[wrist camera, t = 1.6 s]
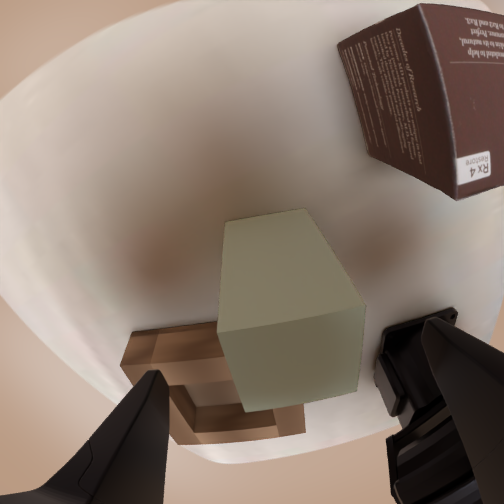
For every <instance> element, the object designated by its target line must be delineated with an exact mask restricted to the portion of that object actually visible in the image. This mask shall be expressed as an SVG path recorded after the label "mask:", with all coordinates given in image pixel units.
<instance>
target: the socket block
mask: <svg viewBox="0 0 504 504" xmlns="http://www.w3.org/2000/svg"><path fill="white" fill-rule="evenodd" d="M217 322H218V321H217ZM217 322H210V323H203V324H196V325H188V326H180V327H172V328H164V329H155V330H146V331H136V332H132V334H131V336H130V339H129V341H128V344H127V347H126V350H125V352H124V355H123V358H122V361H121V363H120V367H121V368H122V370H123V371H124V373H125V374H126V376H127V377H128V379H129V380H130V382H131V383H132V385H133V386H134V385H135V384H136V383H137V382H138V381H139V379H140V378H141V377H142V376H143V375H144V374H145V372H146V371H148V370H154V369H159V370H160V371H161V372H162V374H163V376H164V378H165V379H166V381H167V383H168V385H169V389H170V430H169V434H170V436H171V437H172V438H173V439H174V440H175V442H176V443H177V444H178V445H198V444H219V443H233V442H244V441H253V440H262V439H269V438H276V437H283V436H289V435H295V434H301V433H306V429H305V417H304V405H303V404H298V405H292V406H287V407H281V408H274V409H268V410H261V411H253V412H245V410H244V408H243V405H242V402H241V400H240V397H239V394H238V392H237V389H236V386H235V384H234V381H233V378H232V375H231V372H230V370H229V367H228V364H227V361H226V358H225V355H224V353H223V350H222V347H221V344H220V341H219V338H218V335H217Z"/></svg>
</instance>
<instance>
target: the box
mask: <svg viewBox="0 0 504 504" xmlns="http://www.w3.org/2000/svg"><path fill="white" fill-rule="evenodd" d="M338 49H339V52H340V55H341V58H342V60H343V64H344V67H345V70H346V72H347V75H348V78H349V80H350V85H351V87H352V90H353V95H354V98H355V101H356V105H357V109H358V112H359V117H360V120H361V124H362V129H363V132H364V138H365V143H366V147H367V150H368V152H369V156H371V157H373V158H376V159H378V160H380V161H383V162H384V163H387V164H389V165H391V166H393V167H395V168H397V169H399V170H401V171H403V172H405V173H407V174H409V175H411V176H414V177H415V178H417V179H419V180H421V181H423V182H425V183H427V184H428V185H430V186H432V187H434V188H436V189H439V190H441V191H442V192H443V193H445V194H446V195H448V196H450V197H451V198H452V199H454V200H456V201H459V200H462V199H465V198H468V197H471V196H474V195H477V194H480V193H482V192H485V191H488V190H490V189H493V188H497V187H499V186H504V15H499V14H495V13H491V12H486V11H481V10H476V9H470V8H463V7H456V6H450V5H443V4H440V5H439V4H425V3H420V4H417V5H416V6H414V7H412V8H410V9H408V10H405V11H404V12H400V13H397V14H395V15H393V16H391V17H388V18H386V19H384V20H382V21H379V22H378V23H376V24H374V25H372V26H370V27H368V28H366V29H363V30H362V31H360V32H358V33H355V34H354V35H352V36H350V37H349V38H347V39H345V40H343V41H341V42H339V43H338Z"/></svg>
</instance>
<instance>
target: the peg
mask: <svg viewBox="0 0 504 504" xmlns="http://www.w3.org/2000/svg"><path fill="white" fill-rule="evenodd" d="M365 309H366V305H365V303H364V301H363V299H362V298H361V296H360V294H359V293H358V291H357V289H356V288H355V286H354V284H353V283H352V281H351V279H350V278H349V276H348V274H347V273H346V271H345V269H344V268H343V266H342V265H341V263H340V261H339V260H338V258H337V257H336V255H335V253H334V252H333V250H332V249H331V247H330V245H329V244H328V242H327V241H326V239H325V238H324V236H323V235H322V233H321V231H320V230H319V228H318V227H317V225H316V224H315V222H314V221H313V219H312V218H311V216H310V215H309V213H308V212H307V210H306V209H305V208H302V209H296V210H290V211H284V212H278V213H272V214H267V215H261V216H255V217H250V218H244V219H239V220H233V221H228V222H225V229H224V241H223V253H222V266H221V279H220V293H219V307H218V322H217V335H218V338H219V341H220V344H221V347H222V350H223V353H224V355H225V358H226V361H227V364H228V367H229V370H230V372H231V375H232V378H233V381H234V384H235V386H236V389H237V392H238V394H239V397H240V400H241V402H242V405H243V408H244V410H245V412H253V411H261V410H268V409H274V408H281V407H287V406H292V405H298V404H303V403H308V402H313V401H318V400H323V399H327V398H332V397H336V396H340V395H344V394H348V393H352V392H356V391H357V387H358V380H359V372H360V364H361V355H362V346H363V335H364V323H365Z"/></svg>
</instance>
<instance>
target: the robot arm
mask: <svg viewBox="0 0 504 504" xmlns="http://www.w3.org/2000/svg"><path fill="white" fill-rule="evenodd" d="M457 315H458V312H457V311H456V310H455V309H454V308H451V309H448V310H445V311H442V312H439V313H436V314H433V315H430V316H427V317H424V318H421V319H417V320H414V321H411V322H407V323H404V324H401V325H397V326H394V327H390V328H388V329H386V330H385V331H384V332H383V336H382V343H381V349H380V354H379V355H378V357H377V362H376V367H375V373H374V379H375V385H376V387H378V389H379V391H380V393H381V396H382V398H383V400H384V403H385V405H386V408H387V410H388V413H389V415H390V416H392V417H395V416H397V417H398V419H399V421H400V424H401V426H402V430H401V431H399V432H398V433H396V434H395V435H391V436H390V437H388V438H386V445H387V456H388V465H389V475H390V488H391V495H392V496H393V497H394V499H395V501H396V503H397V504H504V353H503V352H501V351H499V350H497V349H496V348H494V347H492V346H490V345H488V344H487V343H485V342H483V341H481V340H479V339H477V338H475V337H474V336H472V335H470V334H468V333H466V332H464V331H462V330H461V329H459V328H457V327H455V326H454V325H455V322H456V319H457ZM169 430H170V389H169V385H168V383H167V381H166V379H165V378H164V376H163V374H162V372H161V371H160V370H159V369H154V370H148V371H146V372H145V374H144V375H143V376H142V377H141V378H140V379H139V381H138V382H137V383H136V384H135V385H134V386H133V388H132V389H131V390H130V391H129V392H128V393H127V395H126V396H125V397H124V398H123V399H122V400H121V402H120V403H119V404H118V405H117V407H116V408H115V409H114V410H113V411H112V412H111V414H110V415H109V416H108V417H107V418H106V419H105V420H104V422H103V423H102V424H101V425H100V426H99V428H98V429H97V430H96V431H95V432H94V433H93V434H92V436H91V437H90V438H89V440H87V441H86V443H85V444H84V445H83V446H82V447H81V448H80V449H79V451H78V452H77V453H76V454H75V455H74V456H73V457H72V458H71V459H70V460H69V461H68V462H67V463H66V464H65V465H64V466H63V467H62V468H61V469H60V470H59V471H58V472H57V473H56V474H54V476H52V477H51V478H50V479H49V480H48V481H47V482H46V483H45V484H43V485H42V486H41V487H39V488H37V489H34V490H31V491H27V492H21V493H15V494H8V495H1V496H0V504H163V498H164V484H165V472H166V461H167V450H168V440H169Z"/></svg>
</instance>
